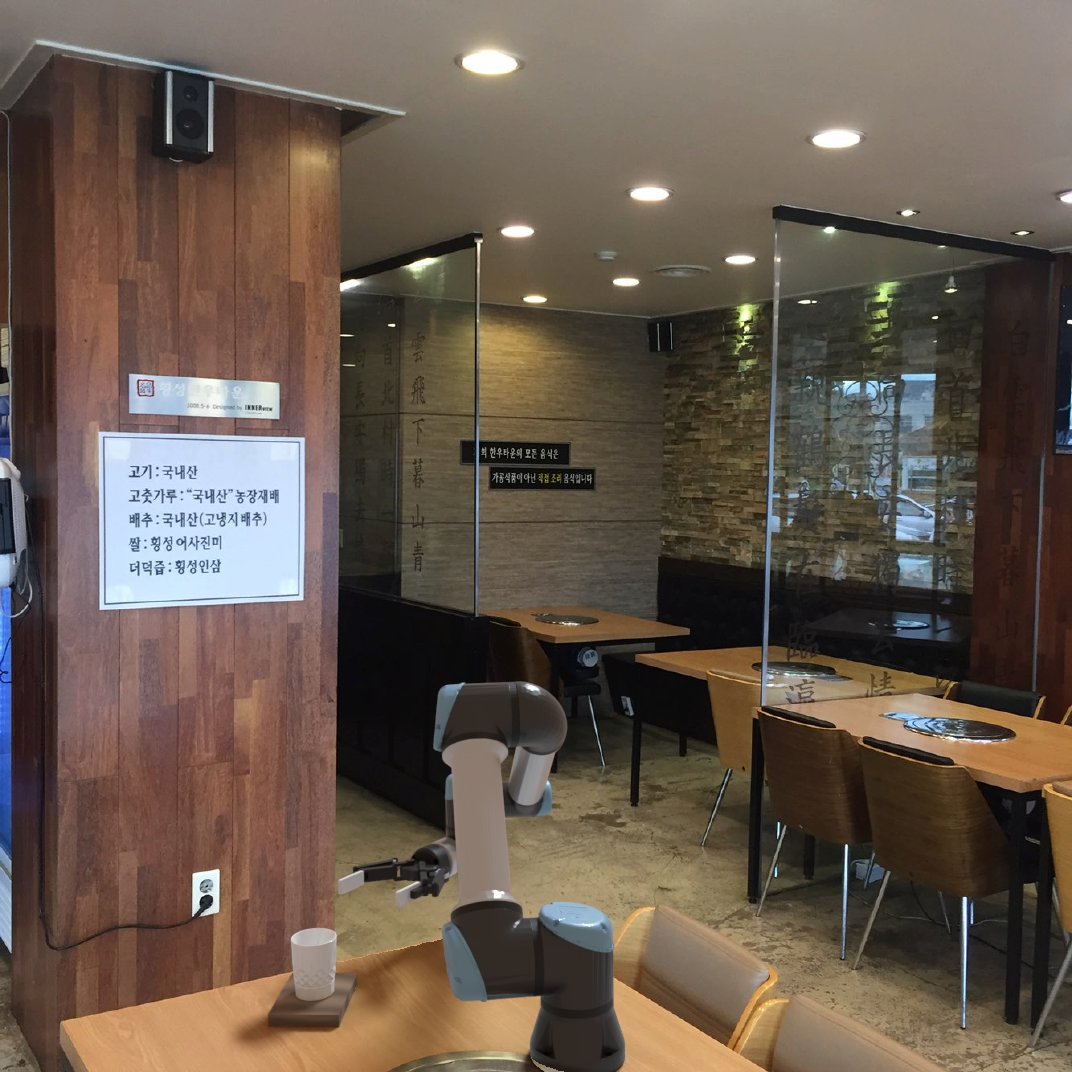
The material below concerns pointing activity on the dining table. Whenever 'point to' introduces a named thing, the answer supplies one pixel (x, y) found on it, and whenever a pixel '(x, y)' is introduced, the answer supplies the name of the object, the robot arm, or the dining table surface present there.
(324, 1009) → the walnut board
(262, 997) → the dining table surface
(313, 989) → the white cup
